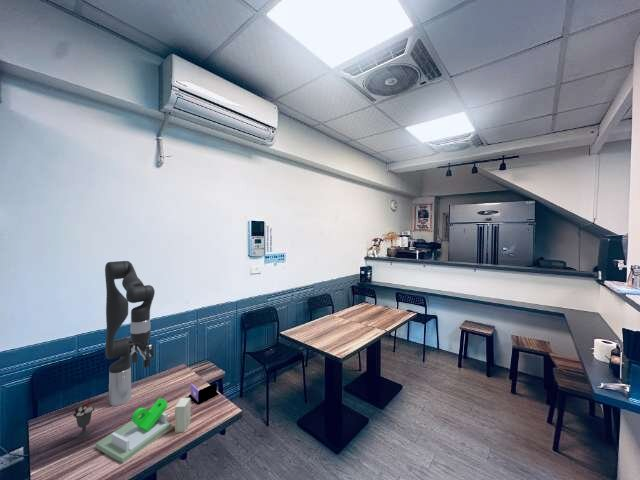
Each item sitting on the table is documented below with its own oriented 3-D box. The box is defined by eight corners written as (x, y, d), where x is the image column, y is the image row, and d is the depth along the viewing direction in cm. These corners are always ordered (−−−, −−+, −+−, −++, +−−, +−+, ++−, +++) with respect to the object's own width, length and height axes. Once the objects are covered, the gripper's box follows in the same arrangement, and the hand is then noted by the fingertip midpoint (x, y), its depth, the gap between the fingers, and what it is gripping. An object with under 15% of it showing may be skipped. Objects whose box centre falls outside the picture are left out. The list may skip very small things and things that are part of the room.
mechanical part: (148, 431, 111) (138, 422, 107) (139, 427, 113) (129, 418, 109) (170, 403, 120) (161, 394, 116) (161, 400, 123) (153, 390, 119)
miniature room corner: (197, 406, 132) (197, 393, 132) (187, 396, 140) (187, 383, 139) (219, 395, 141) (219, 382, 141) (209, 386, 149) (209, 374, 149)
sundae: (98, 430, 114) (97, 397, 114) (79, 442, 108) (79, 407, 108) (88, 427, 116) (88, 394, 116) (70, 438, 110) (69, 403, 110)
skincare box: (181, 423, 119) (181, 397, 119) (190, 422, 120) (190, 397, 119) (174, 433, 113) (174, 406, 113) (184, 433, 113) (184, 406, 113)
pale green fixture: (95, 447, 105) (95, 433, 105) (145, 416, 124) (145, 404, 123) (122, 463, 98) (122, 448, 98) (171, 427, 116) (171, 414, 116)
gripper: (121, 329, 116) (121, 364, 117) (142, 335, 110) (142, 372, 111) (139, 324, 123) (139, 357, 123) (159, 329, 117) (159, 364, 118)
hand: (140, 364), depth 117 cm, fingers open, 8 cm apart
